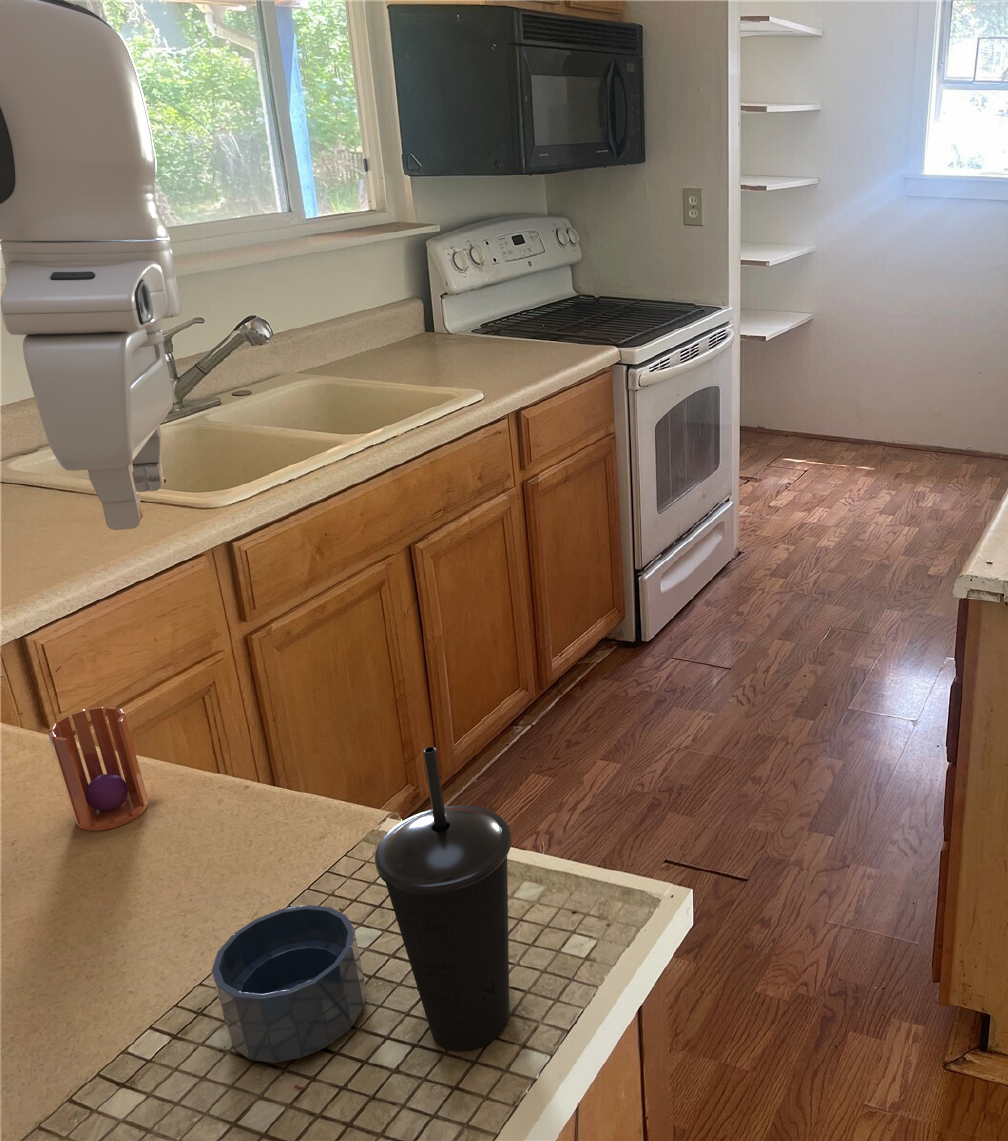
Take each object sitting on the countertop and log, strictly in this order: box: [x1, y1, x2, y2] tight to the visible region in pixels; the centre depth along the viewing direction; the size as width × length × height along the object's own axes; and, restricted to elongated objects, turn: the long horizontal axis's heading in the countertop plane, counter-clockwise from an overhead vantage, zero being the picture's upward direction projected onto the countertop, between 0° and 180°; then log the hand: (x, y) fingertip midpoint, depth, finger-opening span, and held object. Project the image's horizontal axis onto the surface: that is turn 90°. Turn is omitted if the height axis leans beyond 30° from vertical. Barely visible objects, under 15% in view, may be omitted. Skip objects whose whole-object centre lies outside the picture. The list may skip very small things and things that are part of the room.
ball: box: [85, 773, 128, 811], centre depth 88 cm, size 3×3×3 cm
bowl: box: [211, 904, 367, 1064], centre depth 67 cm, size 8×8×6 cm
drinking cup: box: [374, 746, 512, 1052], centre depth 63 cm, size 8×8×20 cm
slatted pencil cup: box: [47, 706, 149, 832], centre depth 87 cm, size 5×5×8 cm
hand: (138, 506), depth 70 cm, fingers open, 8 cm apart
